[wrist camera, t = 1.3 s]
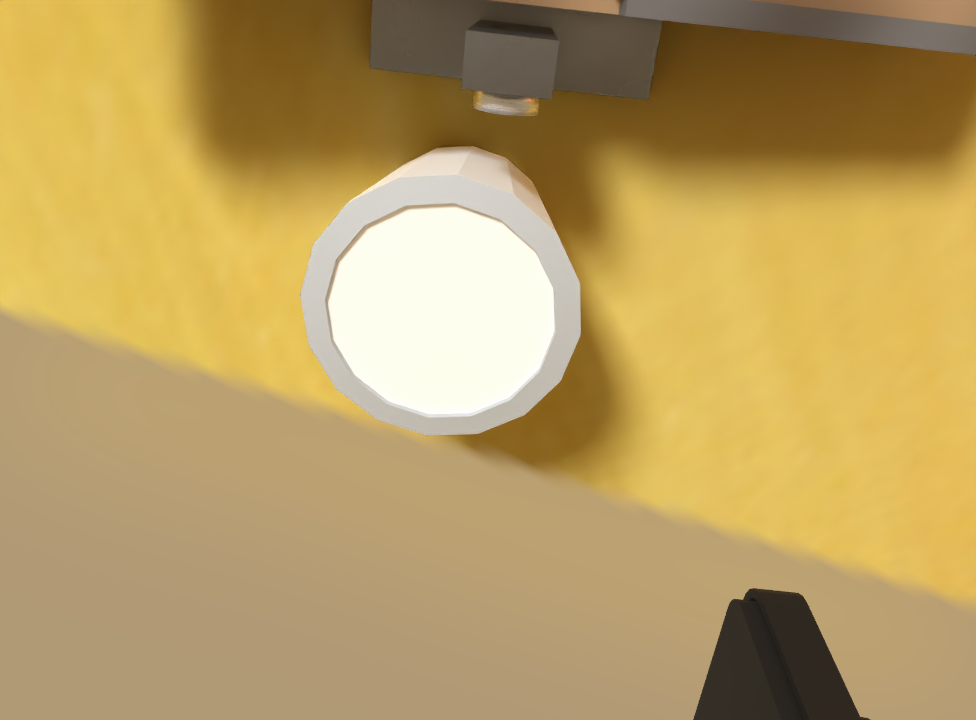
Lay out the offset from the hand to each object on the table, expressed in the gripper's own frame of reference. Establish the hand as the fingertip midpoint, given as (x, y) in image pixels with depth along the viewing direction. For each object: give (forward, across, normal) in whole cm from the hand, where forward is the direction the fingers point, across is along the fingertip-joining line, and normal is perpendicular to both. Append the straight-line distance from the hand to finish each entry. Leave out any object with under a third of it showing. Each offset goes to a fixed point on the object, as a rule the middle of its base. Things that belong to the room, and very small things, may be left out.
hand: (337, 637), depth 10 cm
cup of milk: (+18, 0, 0) cm, 18 cm away
